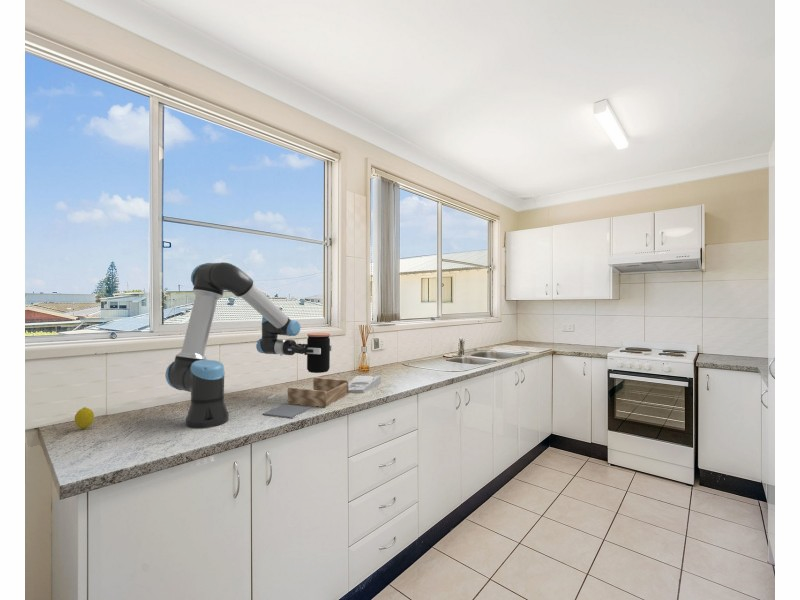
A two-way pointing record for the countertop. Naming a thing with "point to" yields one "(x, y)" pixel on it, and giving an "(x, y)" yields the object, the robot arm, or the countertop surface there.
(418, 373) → the countertop surface
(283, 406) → the rubber mat
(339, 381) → the wooden tray
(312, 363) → the coffee jar
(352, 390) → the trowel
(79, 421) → the lemon
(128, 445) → the countertop surface
